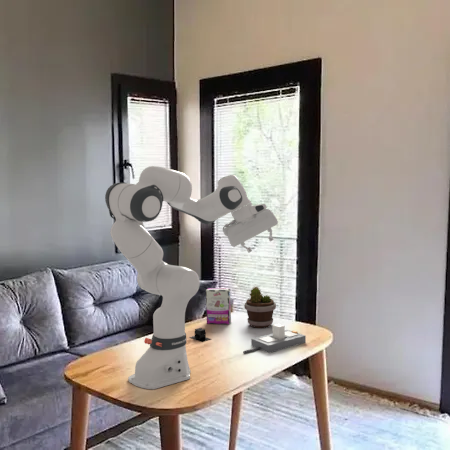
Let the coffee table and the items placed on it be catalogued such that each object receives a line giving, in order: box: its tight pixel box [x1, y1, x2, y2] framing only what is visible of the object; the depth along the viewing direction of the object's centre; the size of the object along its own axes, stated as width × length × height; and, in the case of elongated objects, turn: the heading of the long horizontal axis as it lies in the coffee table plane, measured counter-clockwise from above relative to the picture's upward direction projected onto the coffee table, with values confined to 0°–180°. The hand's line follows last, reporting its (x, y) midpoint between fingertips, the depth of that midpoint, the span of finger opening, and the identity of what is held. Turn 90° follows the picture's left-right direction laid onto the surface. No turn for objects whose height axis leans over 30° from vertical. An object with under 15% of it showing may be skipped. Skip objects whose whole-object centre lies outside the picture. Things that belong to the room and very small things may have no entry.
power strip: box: [242, 329, 307, 354], centre depth 215 cm, size 28×11×4 cm, turn 126°
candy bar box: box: [205, 287, 232, 325], centre depth 250 cm, size 11×5×16 cm, turn 81°
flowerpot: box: [243, 284, 277, 329], centre depth 244 cm, size 14×15×20 cm
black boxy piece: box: [188, 327, 212, 343], centre depth 227 cm, size 12×7×5 cm, turn 43°
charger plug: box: [272, 323, 286, 340], centre depth 217 cm, size 3×4×8 cm
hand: (261, 246), depth 203 cm, fingers open, 8 cm apart
